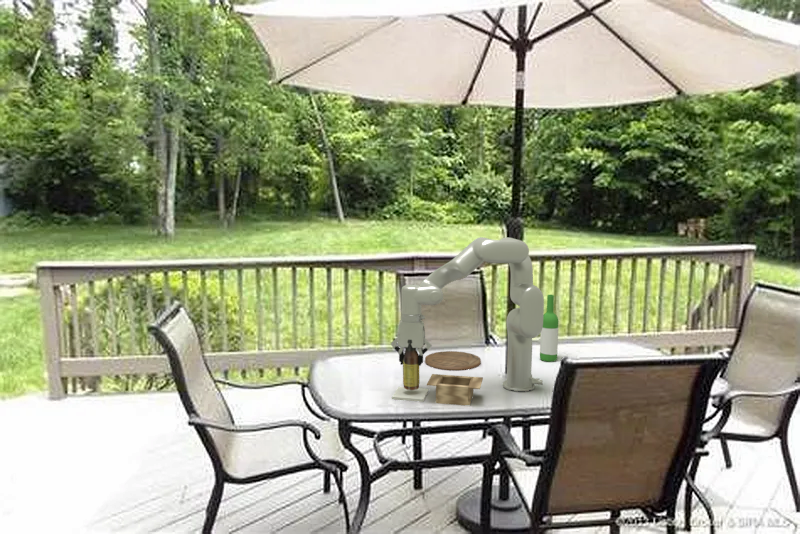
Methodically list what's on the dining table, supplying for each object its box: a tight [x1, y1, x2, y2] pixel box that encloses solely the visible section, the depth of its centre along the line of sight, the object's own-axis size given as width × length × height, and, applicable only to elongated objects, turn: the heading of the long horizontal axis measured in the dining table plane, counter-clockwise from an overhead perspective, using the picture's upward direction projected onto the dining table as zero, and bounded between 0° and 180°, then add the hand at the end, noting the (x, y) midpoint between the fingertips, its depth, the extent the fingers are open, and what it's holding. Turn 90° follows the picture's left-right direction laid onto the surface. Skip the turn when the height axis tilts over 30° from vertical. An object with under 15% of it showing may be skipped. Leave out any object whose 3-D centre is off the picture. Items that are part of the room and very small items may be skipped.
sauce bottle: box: [402, 340, 420, 390], centre depth 244 cm, size 7×6×20 cm
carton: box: [426, 373, 484, 406], centre depth 242 cm, size 20×13×7 cm, turn 78°
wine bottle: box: [539, 294, 559, 363], centre depth 291 cm, size 8×8×30 cm
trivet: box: [424, 350, 482, 372], centre depth 289 cm, size 25×25×2 cm
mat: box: [391, 386, 430, 403], centre depth 245 cm, size 12×12×1 cm
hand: (411, 363), depth 244 cm, fingers closed on sauce bottle, 6 cm apart
